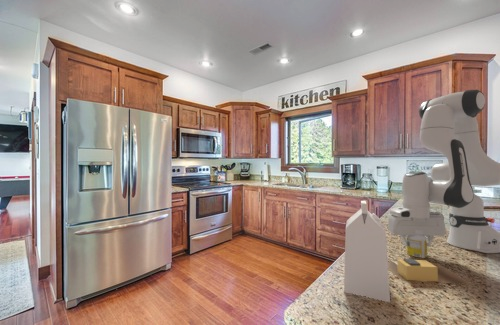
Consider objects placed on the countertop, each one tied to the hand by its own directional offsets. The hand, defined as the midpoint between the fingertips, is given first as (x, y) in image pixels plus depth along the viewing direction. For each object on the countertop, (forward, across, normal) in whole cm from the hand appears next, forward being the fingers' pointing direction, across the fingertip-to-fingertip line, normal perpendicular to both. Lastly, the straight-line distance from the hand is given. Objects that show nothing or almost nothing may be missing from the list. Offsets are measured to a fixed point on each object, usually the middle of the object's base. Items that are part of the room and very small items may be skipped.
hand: (416, 245), depth 87 cm
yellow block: (+4, +12, +19) cm, 23 cm away
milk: (+5, +30, +24) cm, 39 cm away
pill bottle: (+5, 0, 0) cm, 5 cm away
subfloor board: (+5, +8, +15) cm, 18 cm away
